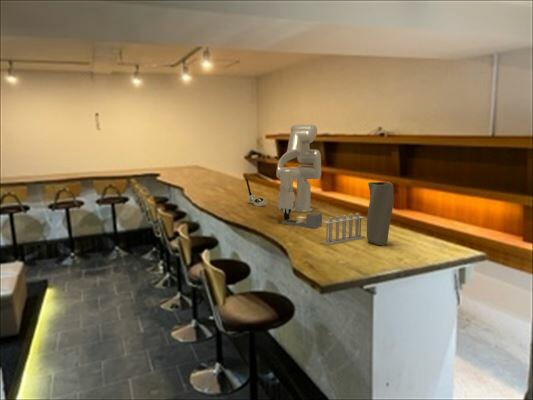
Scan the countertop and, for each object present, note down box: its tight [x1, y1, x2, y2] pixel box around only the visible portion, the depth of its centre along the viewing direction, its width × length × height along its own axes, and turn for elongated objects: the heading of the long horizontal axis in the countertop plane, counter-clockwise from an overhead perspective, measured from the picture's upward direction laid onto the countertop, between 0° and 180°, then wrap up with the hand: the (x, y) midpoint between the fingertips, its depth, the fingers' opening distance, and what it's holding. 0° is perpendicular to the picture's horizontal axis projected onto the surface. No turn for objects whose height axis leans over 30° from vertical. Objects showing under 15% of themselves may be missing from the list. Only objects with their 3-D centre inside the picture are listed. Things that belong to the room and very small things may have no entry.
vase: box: [366, 181, 395, 246], centre depth 201 cm, size 12×12×30 cm
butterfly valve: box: [245, 178, 268, 207], centre depth 306 cm, size 9×20×17 cm
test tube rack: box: [321, 212, 366, 246], centre depth 209 cm, size 25×4×13 cm, turn 121°
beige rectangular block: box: [295, 215, 306, 224], centre depth 241 cm, size 12×4×5 cm, turn 54°
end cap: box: [305, 212, 323, 230], centre depth 238 cm, size 6×8×8 cm
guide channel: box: [281, 219, 306, 228], centre depth 245 cm, size 16×6×2 cm, turn 58°
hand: (286, 219), depth 248 cm, fingers closed
